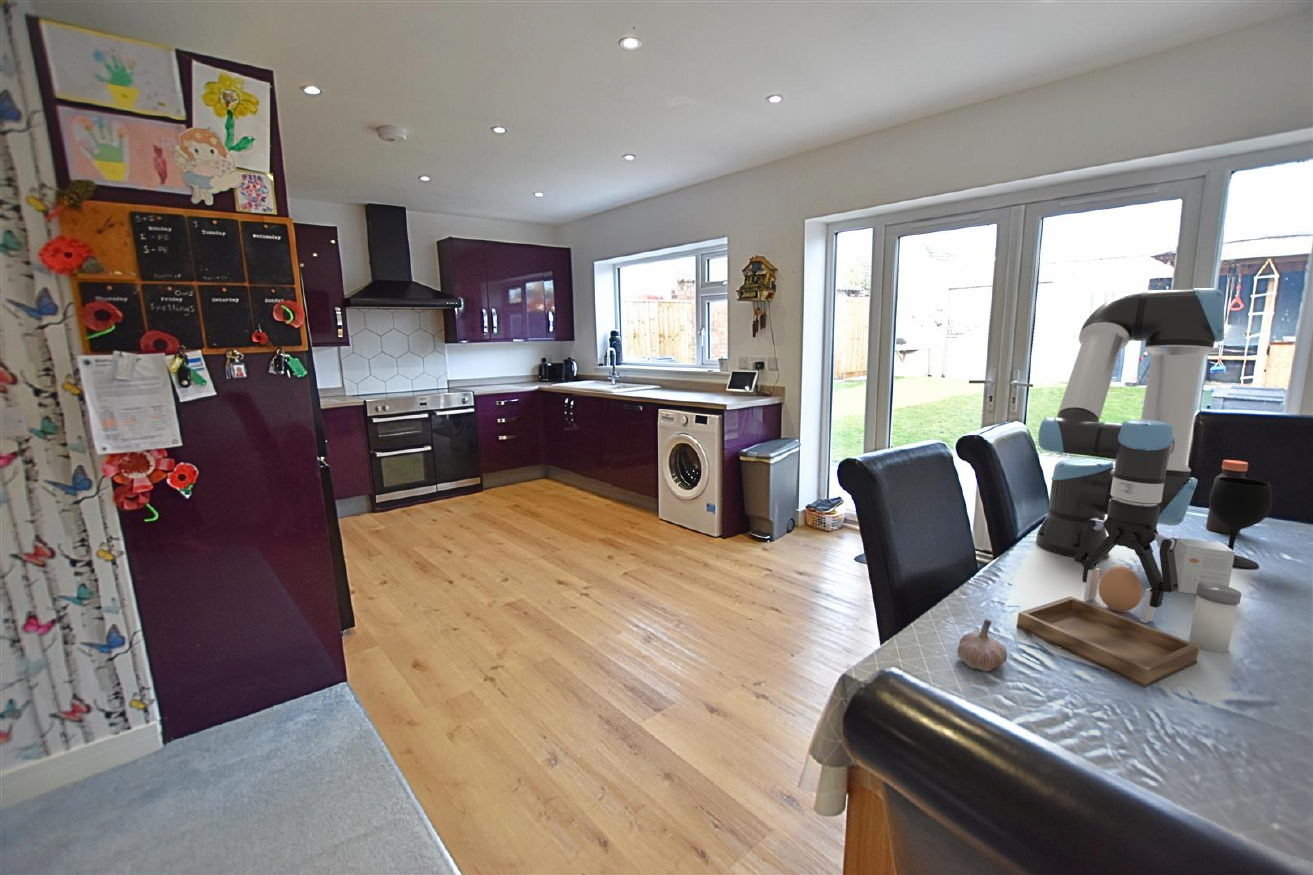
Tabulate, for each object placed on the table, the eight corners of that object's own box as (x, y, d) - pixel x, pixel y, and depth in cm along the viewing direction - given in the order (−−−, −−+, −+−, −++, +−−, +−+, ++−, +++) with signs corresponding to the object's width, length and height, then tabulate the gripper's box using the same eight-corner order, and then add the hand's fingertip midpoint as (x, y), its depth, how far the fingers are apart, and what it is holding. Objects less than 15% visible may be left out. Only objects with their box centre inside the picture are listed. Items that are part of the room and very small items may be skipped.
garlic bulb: (998, 654, 96) (1003, 611, 94) (1015, 679, 89) (1021, 633, 87) (950, 649, 97) (954, 606, 96) (963, 673, 90) (968, 627, 89)
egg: (1147, 617, 108) (1155, 572, 107) (1118, 619, 107) (1126, 575, 106) (1115, 601, 115) (1121, 559, 113) (1087, 603, 114) (1093, 561, 112)
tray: (1016, 627, 104) (1018, 612, 104) (1068, 610, 111) (1070, 596, 110) (1144, 687, 87) (1147, 669, 86) (1197, 662, 93) (1200, 646, 93)
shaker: (1181, 640, 100) (1191, 585, 98) (1196, 634, 102) (1206, 580, 100) (1221, 656, 95) (1232, 598, 93) (1236, 649, 97) (1247, 592, 95)
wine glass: (1211, 565, 133) (1227, 484, 130) (1190, 550, 143) (1204, 474, 139) (1269, 572, 129) (1287, 489, 126) (1243, 556, 139) (1259, 478, 135)
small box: (1214, 588, 121) (1223, 542, 119) (1227, 599, 116) (1236, 551, 114) (1166, 581, 124) (1174, 536, 122) (1177, 592, 119) (1185, 545, 117)
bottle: (1199, 526, 161) (1211, 458, 157) (1225, 527, 160) (1238, 459, 156) (1218, 534, 154) (1232, 464, 151) (1246, 535, 153) (1260, 464, 150)
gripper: (1062, 488, 115) (1048, 590, 119) (1197, 519, 96) (1175, 640, 100) (1083, 485, 118) (1069, 584, 122) (1219, 514, 99) (1196, 631, 103)
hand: (1116, 609), depth 111 cm, fingers open, 9 cm apart
